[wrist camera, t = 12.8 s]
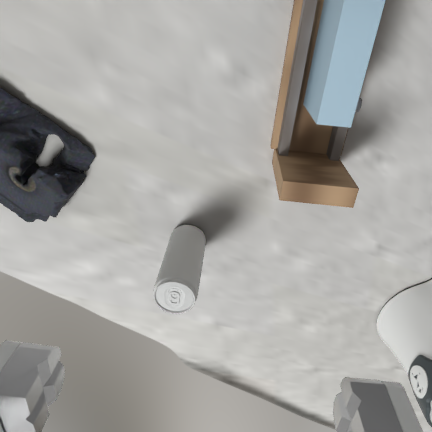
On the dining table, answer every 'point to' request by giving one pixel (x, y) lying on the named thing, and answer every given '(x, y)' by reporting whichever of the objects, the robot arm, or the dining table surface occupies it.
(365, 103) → the dining table surface
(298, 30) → the wooden rack
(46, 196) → the dark grey flat piece
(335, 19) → the door panel
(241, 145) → the dining table surface
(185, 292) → the beverage can
